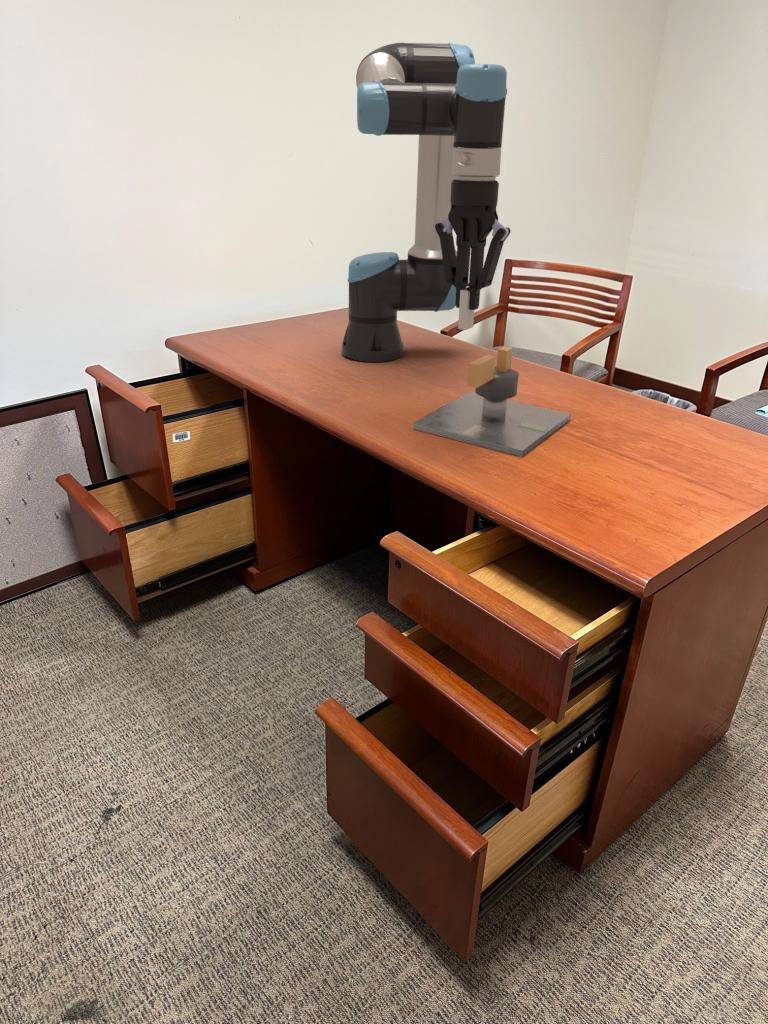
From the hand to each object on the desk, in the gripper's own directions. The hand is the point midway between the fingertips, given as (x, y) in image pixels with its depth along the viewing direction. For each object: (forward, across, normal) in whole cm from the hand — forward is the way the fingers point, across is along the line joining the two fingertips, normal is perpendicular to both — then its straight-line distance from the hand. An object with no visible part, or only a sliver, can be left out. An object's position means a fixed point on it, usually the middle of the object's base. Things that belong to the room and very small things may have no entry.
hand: (465, 327), depth 127 cm
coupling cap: (+13, +4, +4) cm, 14 cm away
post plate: (+19, +4, +7) cm, 21 cm away
